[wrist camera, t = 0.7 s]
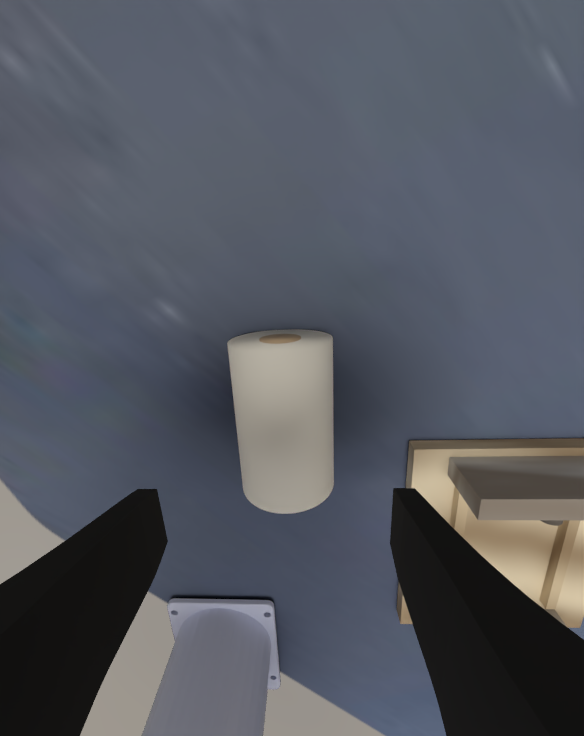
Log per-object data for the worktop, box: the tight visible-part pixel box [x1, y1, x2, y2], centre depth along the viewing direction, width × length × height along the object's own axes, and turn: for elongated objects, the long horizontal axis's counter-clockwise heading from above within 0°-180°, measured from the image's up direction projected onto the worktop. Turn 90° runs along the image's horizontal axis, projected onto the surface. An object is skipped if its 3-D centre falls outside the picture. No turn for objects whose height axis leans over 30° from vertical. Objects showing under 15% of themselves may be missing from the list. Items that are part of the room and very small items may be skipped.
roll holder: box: [397, 438, 584, 628], centre depth 19 cm, size 14×12×4 cm
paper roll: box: [227, 329, 334, 514], centre depth 16 cm, size 8×5×5 cm, turn 2°
